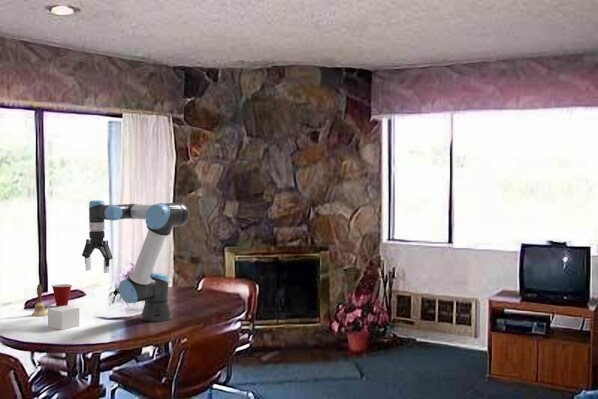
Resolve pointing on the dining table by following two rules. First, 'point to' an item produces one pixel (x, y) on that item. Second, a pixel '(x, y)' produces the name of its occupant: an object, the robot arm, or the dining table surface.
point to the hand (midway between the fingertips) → (97, 271)
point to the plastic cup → (61, 294)
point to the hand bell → (39, 304)
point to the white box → (63, 317)
